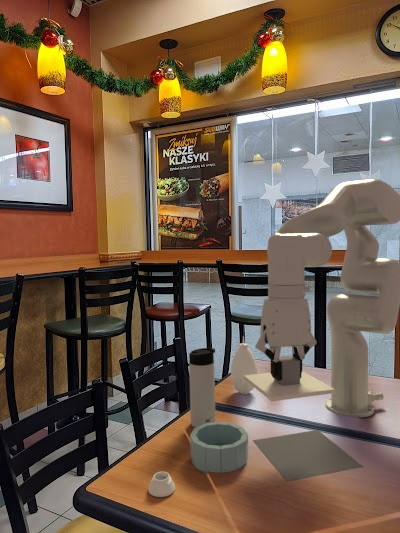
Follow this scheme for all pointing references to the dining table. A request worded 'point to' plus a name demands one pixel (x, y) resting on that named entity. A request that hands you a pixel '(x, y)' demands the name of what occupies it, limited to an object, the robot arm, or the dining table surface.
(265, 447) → the mat
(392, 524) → the dining table surface
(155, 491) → the lidless jar
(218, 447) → the bowl
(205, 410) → the travel mug
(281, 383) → the square lid
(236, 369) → the white pear-shaped vessel
